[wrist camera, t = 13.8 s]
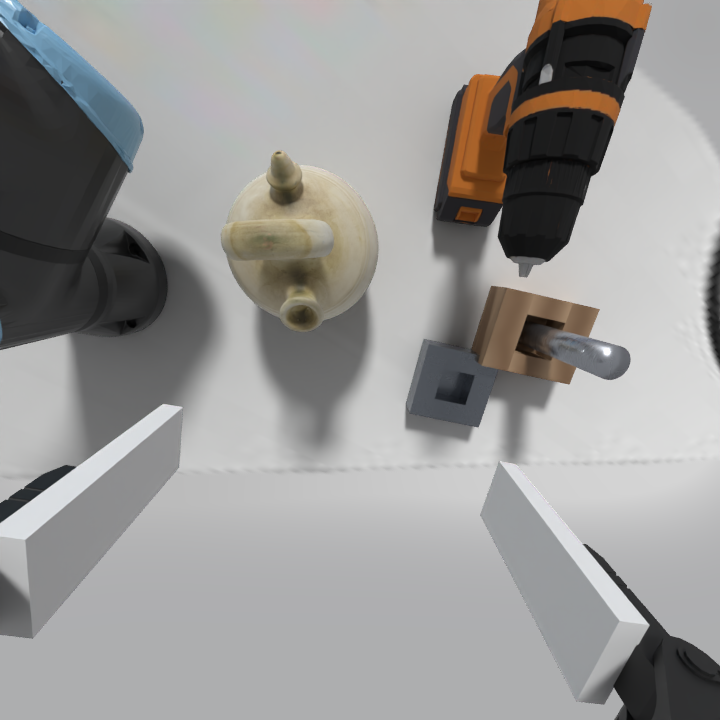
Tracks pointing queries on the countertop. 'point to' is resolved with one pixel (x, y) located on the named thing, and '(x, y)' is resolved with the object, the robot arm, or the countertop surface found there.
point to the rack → (507, 322)
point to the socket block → (450, 384)
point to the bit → (577, 350)
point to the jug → (300, 243)
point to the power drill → (541, 126)
